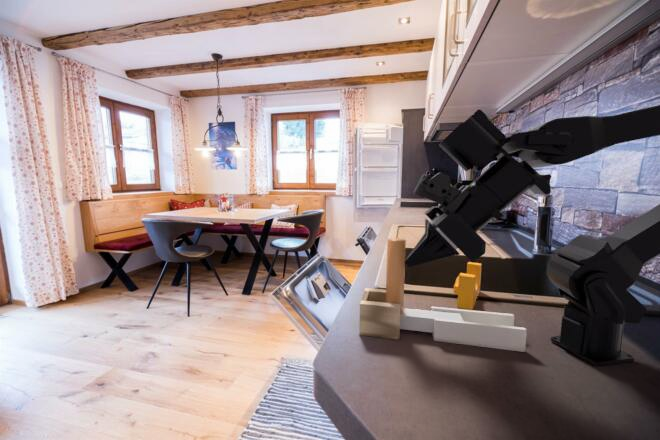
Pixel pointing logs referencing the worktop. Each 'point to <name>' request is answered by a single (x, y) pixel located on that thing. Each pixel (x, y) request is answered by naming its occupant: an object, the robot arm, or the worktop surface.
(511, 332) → the sleeve
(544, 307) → the worktop surface
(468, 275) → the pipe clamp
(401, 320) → the slide bolt
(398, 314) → the socket
